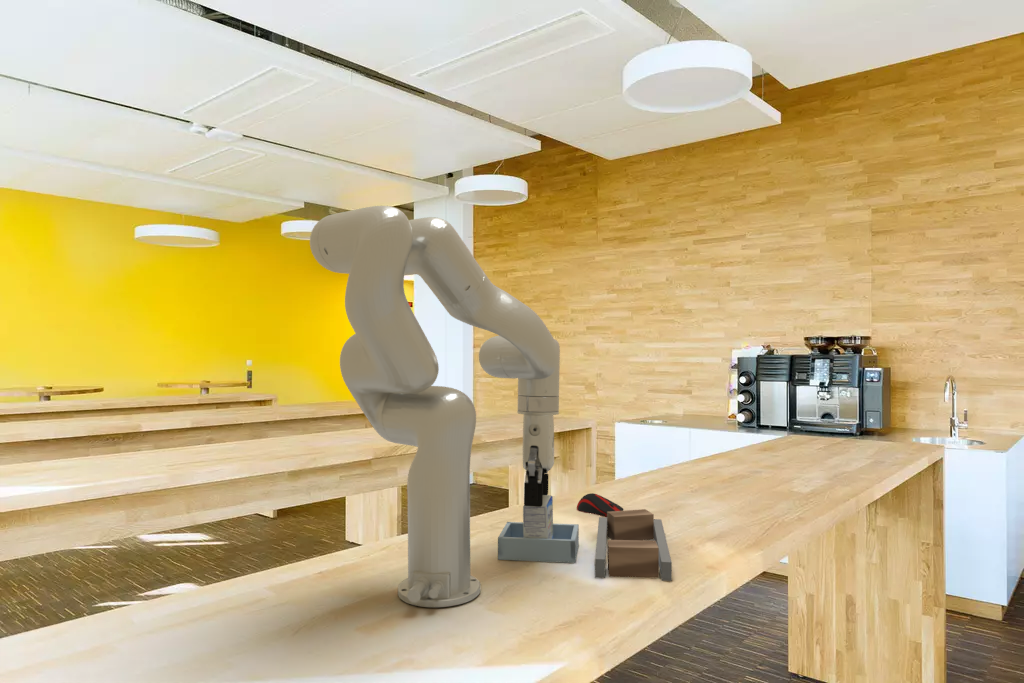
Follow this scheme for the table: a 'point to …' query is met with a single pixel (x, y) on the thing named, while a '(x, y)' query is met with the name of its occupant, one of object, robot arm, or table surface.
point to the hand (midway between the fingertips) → (536, 500)
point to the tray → (539, 544)
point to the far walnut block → (630, 525)
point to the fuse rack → (659, 537)
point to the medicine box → (539, 520)
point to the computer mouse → (597, 505)
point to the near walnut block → (633, 558)
